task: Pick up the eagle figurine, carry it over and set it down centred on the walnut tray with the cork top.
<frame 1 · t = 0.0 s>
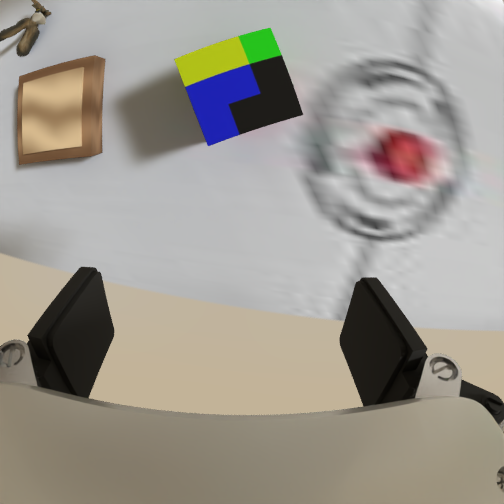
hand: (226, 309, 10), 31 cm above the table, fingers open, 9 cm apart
eagle figurine: (34, 31, 25), on the table
puzzle toy: (238, 92, 34), on the table
walnut tray: (63, 111, 32), on the table
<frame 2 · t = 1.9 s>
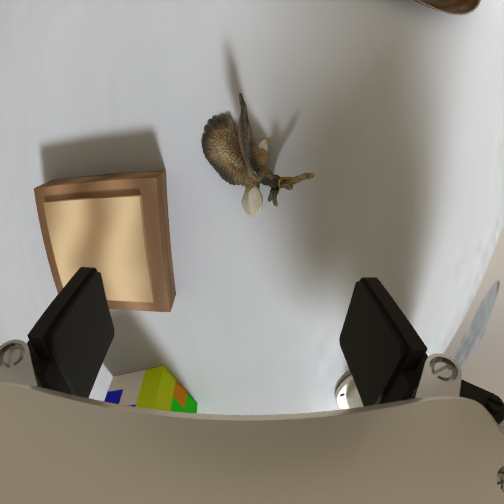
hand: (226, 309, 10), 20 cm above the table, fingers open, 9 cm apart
eagle figurine: (248, 151, 27), on the table
puzzle toy: (155, 390, 41), on the table
walnut tray: (110, 237, 30), on the table
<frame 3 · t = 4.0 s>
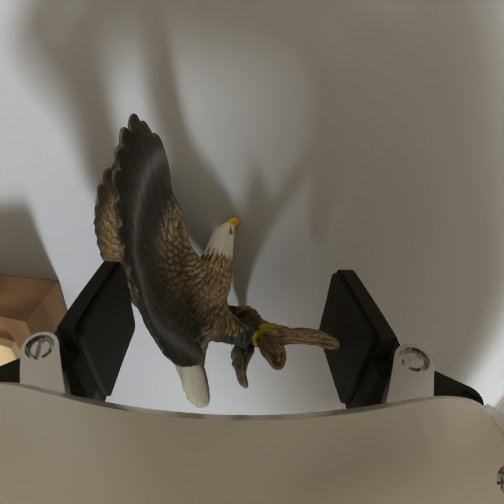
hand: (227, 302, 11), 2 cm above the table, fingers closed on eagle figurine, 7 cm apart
eagle figurine: (193, 242, 12), on the table, touching gripper
walnut tray: (16, 354, 15), on the table
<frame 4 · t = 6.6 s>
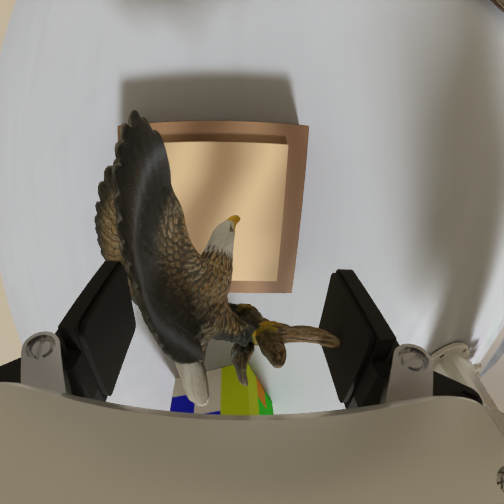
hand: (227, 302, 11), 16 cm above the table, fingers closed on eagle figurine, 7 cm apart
eagle figurine: (194, 240, 12), point 13 cm above the table, touching gripper
puzzle toy: (225, 390, 37), on the table
walnut tray: (212, 201, 25), on the table
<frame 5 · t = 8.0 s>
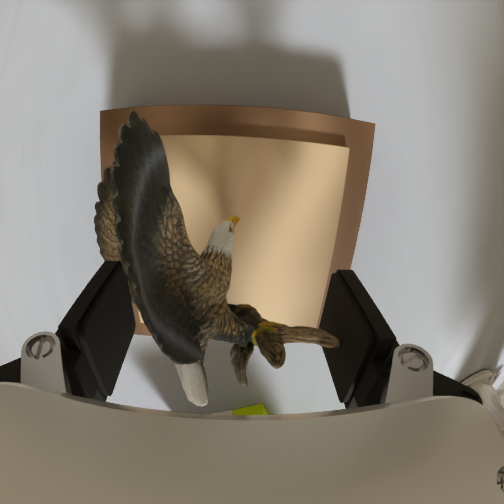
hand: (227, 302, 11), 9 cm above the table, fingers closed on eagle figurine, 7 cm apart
eagle figurine: (193, 240, 12), point 6 cm above the table, touching gripper
puzzle toy: (235, 430, 30), on the table
walnut tray: (231, 219, 19), on the table
when the fingers open (7 cm above the table, at t = 9.0 s): eagle figurine stays where it is, resting on walnut tray.
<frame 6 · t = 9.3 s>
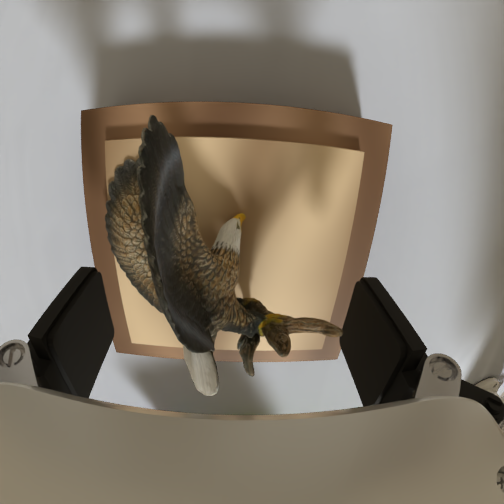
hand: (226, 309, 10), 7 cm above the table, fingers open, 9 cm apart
eagle figurine: (201, 237, 13), point 4 cm above the table, touching walnut tray
walnut tray: (230, 230, 17), on the table
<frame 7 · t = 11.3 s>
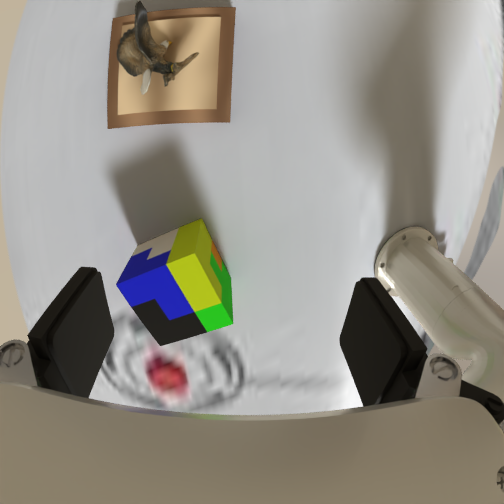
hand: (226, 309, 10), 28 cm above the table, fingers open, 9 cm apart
eagle figurine: (154, 53, 25), point 4 cm above the table, touching walnut tray
puzzle toy: (184, 261, 41), on the table
walnut tray: (173, 68, 29), on the table
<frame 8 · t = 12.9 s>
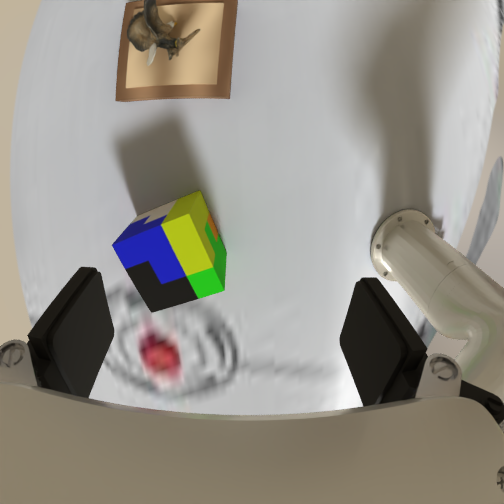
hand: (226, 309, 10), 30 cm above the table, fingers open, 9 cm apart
eagle figurine: (161, 33, 26), point 4 cm above the table, touching walnut tray
puzzle toy: (181, 233, 42), on the table
walnut tray: (179, 49, 30), on the table
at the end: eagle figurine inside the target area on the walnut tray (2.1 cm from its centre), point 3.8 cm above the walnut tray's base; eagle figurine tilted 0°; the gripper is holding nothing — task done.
